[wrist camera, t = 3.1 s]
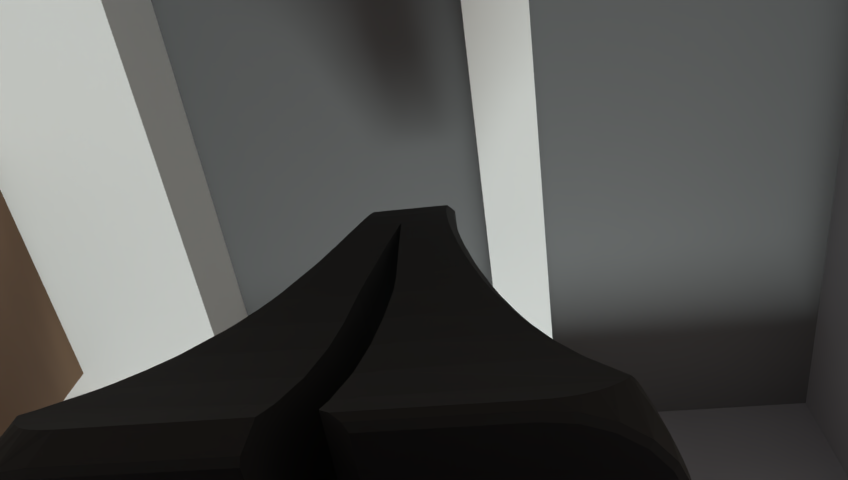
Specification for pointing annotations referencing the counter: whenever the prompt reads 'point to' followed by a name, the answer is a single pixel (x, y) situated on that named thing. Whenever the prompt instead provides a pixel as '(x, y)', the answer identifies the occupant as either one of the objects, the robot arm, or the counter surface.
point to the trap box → (460, 182)
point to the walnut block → (28, 333)
